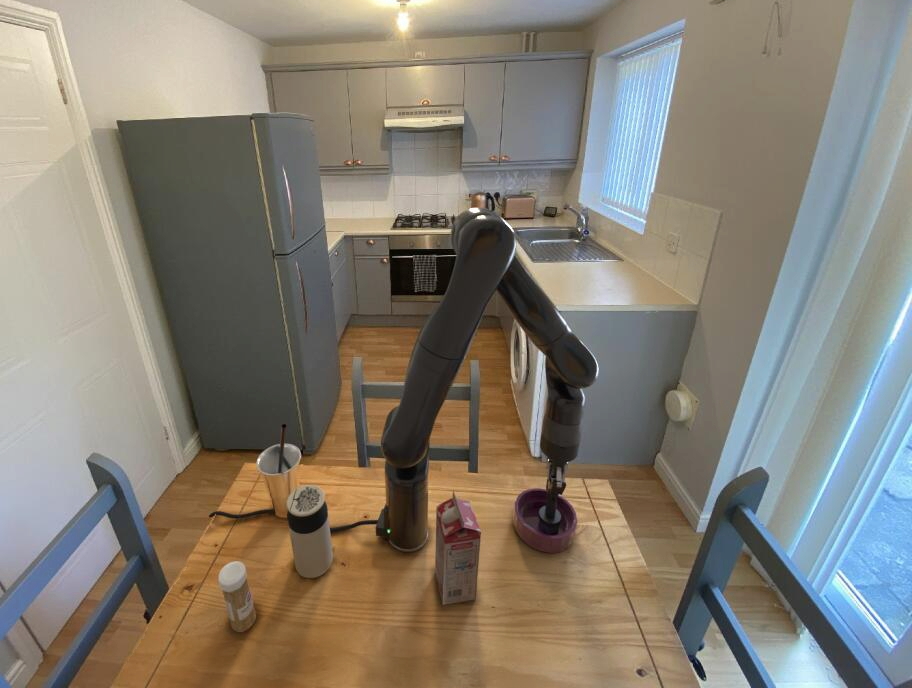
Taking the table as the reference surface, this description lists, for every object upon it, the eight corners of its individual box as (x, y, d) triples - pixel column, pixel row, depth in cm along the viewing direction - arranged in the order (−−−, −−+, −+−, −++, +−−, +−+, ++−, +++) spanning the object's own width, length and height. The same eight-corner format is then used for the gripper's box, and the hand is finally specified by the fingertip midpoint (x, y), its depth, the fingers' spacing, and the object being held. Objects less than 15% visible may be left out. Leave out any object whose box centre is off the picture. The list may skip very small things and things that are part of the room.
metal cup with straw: (301, 531, 97) (284, 426, 85) (256, 523, 99) (234, 420, 87) (318, 494, 107) (306, 395, 95) (277, 487, 109) (260, 390, 97)
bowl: (512, 547, 92) (514, 531, 90) (513, 498, 104) (514, 483, 102) (577, 560, 89) (581, 544, 87) (570, 509, 101) (573, 493, 99)
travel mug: (337, 546, 93) (330, 485, 86) (326, 581, 86) (318, 518, 79) (303, 541, 94) (294, 481, 87) (289, 576, 87) (278, 513, 80)
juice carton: (442, 604, 81) (445, 523, 73) (435, 571, 87) (436, 493, 79) (475, 599, 82) (482, 518, 74) (465, 566, 88) (470, 488, 80)
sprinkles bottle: (255, 629, 78) (243, 581, 73) (229, 636, 77) (215, 588, 72) (257, 604, 82) (246, 557, 77) (232, 610, 81) (220, 563, 76)
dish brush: (537, 533, 95) (543, 483, 89) (537, 515, 99) (542, 467, 93) (560, 537, 93) (567, 487, 88) (559, 519, 98) (565, 470, 92)
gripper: (540, 409, 93) (532, 469, 100) (543, 453, 81) (535, 518, 87) (576, 413, 91) (566, 474, 98) (585, 459, 79) (573, 525, 85)
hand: (551, 494), depth 92 cm, fingers closed on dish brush
